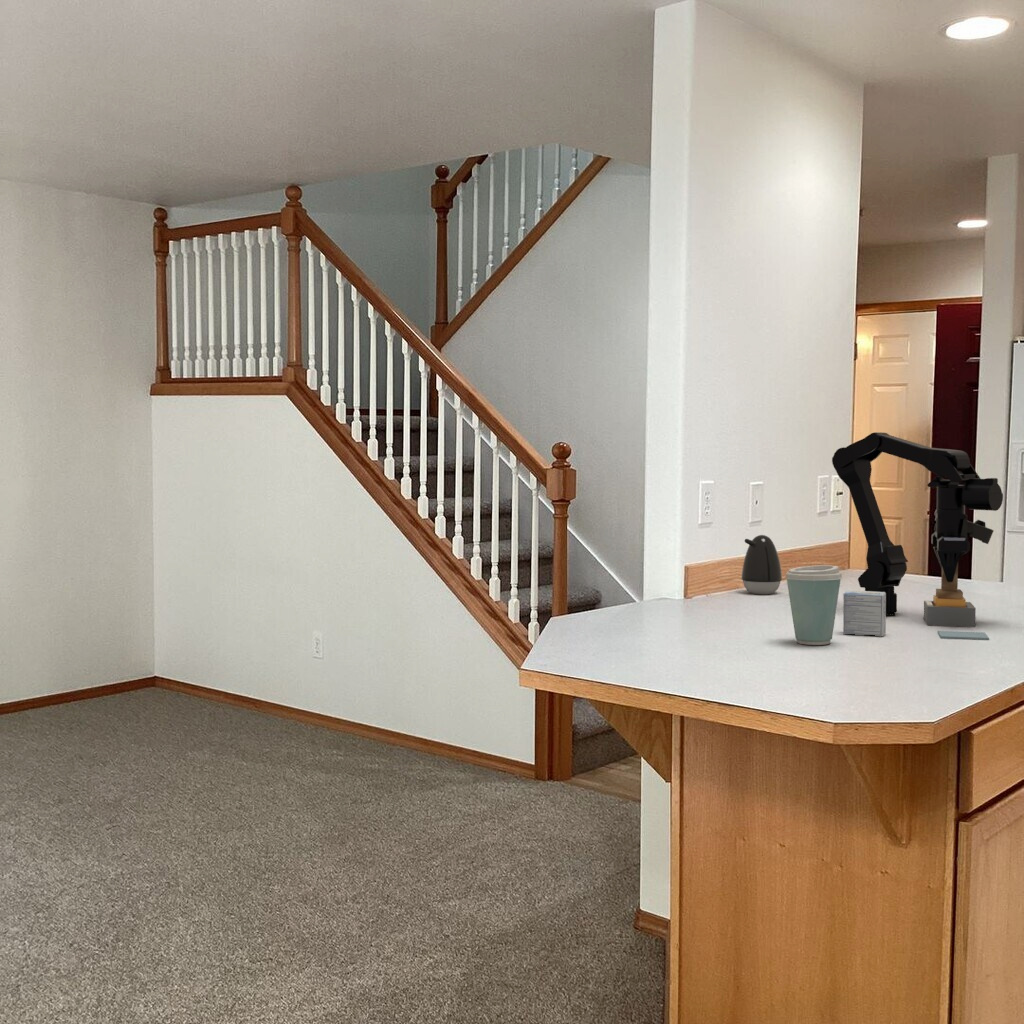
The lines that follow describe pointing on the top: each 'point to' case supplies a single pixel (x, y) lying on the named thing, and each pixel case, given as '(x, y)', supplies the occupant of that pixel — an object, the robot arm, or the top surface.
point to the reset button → (949, 602)
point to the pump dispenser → (761, 566)
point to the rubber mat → (963, 635)
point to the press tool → (949, 588)
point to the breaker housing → (949, 615)
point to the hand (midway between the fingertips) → (949, 581)
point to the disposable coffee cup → (813, 602)
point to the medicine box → (864, 613)
